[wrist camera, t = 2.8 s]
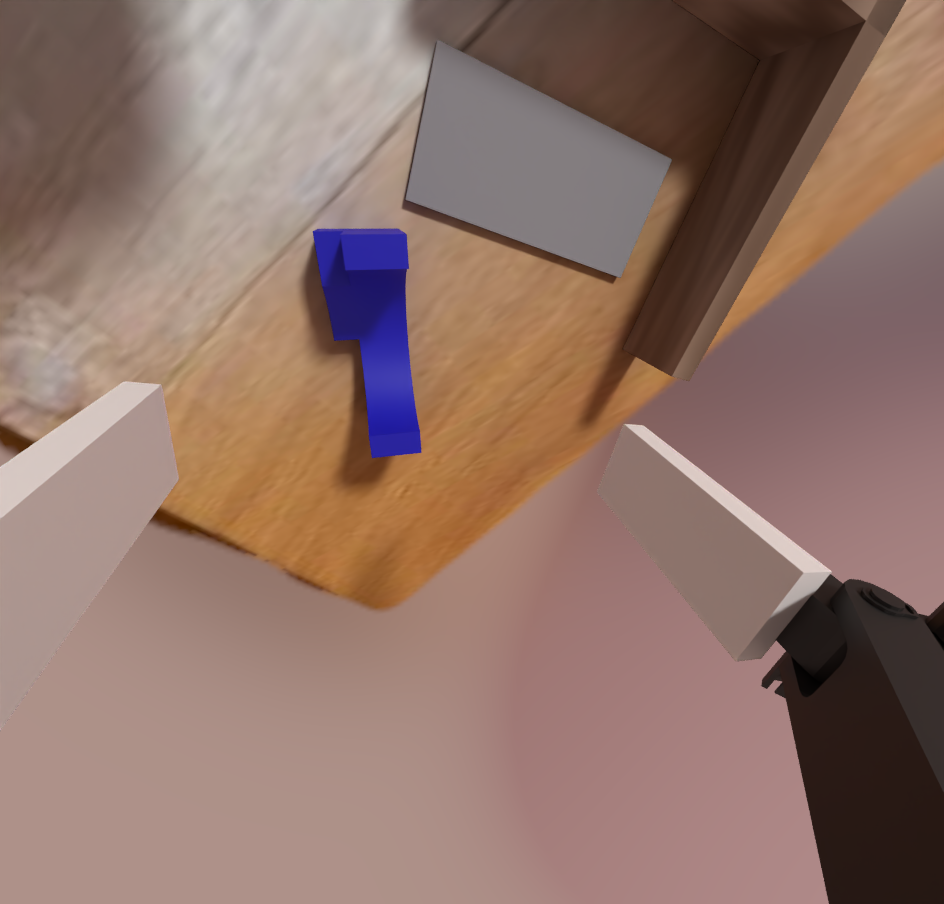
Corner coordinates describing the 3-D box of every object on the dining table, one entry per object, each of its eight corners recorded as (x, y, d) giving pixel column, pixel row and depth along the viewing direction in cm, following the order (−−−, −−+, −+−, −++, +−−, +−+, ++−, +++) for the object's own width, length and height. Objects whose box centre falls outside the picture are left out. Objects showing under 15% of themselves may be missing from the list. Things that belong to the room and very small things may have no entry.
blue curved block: (318, 228, 23) (305, 234, 18) (397, 228, 24) (406, 234, 19) (349, 417, 29) (346, 460, 24) (411, 412, 30) (421, 452, 25)
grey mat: (405, 199, 23) (405, 199, 23) (436, 42, 20) (437, 39, 20) (617, 277, 28) (620, 277, 28) (668, 160, 25) (672, 159, 25)
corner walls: (380, 278, 25) (384, 296, 20) (471, -198, 17) (516, -370, 12) (638, 353, 32) (689, 381, 27) (793, 39, 23) (909, -6, 18)
